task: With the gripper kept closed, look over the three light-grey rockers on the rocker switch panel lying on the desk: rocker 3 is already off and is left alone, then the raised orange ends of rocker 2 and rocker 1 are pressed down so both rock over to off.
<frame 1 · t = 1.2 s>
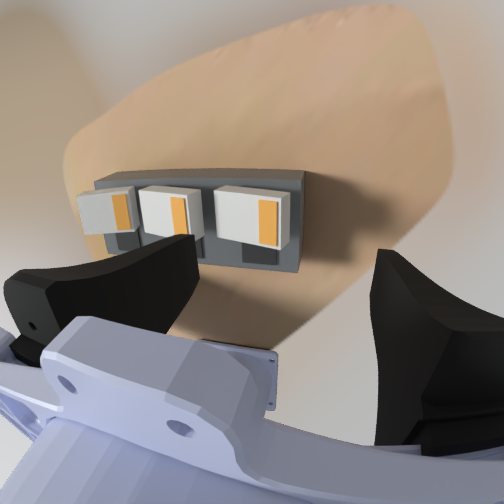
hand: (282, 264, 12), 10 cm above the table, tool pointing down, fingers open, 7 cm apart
rocker 2: (169, 212, 18), point 5 cm above the table, hinge at -15.0°
rocker switch panel: (201, 208, 23), on the table
rocker 1: (251, 216, 17), point 5 cm above the table, hinge at -15.0°
rocker 3: (107, 210, 19), point 5 cm above the table, hinge at 15.0°
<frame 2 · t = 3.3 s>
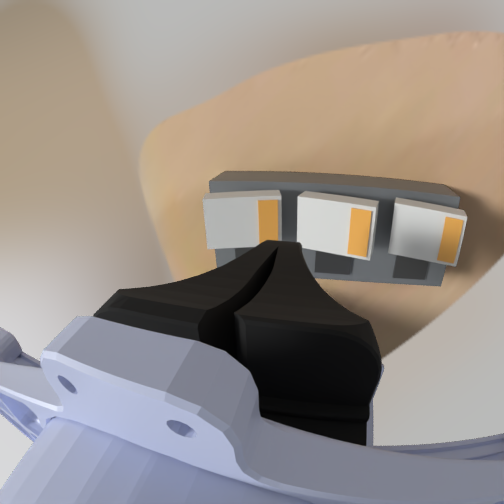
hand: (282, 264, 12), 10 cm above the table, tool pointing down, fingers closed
rocker 2: (337, 224, 15), point 5 cm above the table, hinge at -15.0°
rocker switch panel: (334, 217, 20), on the table
rocker 1: (427, 231, 14), point 5 cm above the table, hinge at -15.0°
rocker 3: (243, 219, 17), point 5 cm above the table, hinge at 15.0°
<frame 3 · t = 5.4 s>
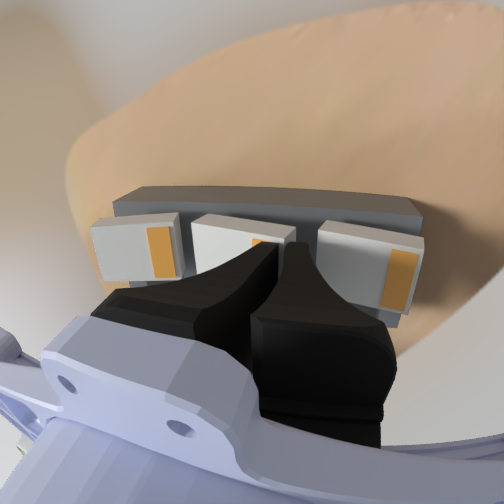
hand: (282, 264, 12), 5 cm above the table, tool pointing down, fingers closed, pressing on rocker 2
rocker 2: (242, 257, 12), point 5 cm above the table, hinge at -14.5°, touching gripper
rocker switch panel: (265, 240, 17), on the table
rocker 1: (368, 267, 11), point 5 cm above the table, hinge at -15.0°
rocker 3: (138, 248, 13), point 5 cm above the table, hinge at 15.0°
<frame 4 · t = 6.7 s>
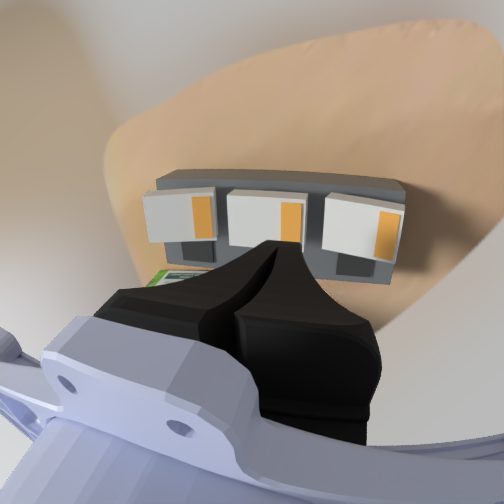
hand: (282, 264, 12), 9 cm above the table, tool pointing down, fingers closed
rocker 2: (267, 219, 16), point 5 cm above the table, hinge at -1.4°
rocker switch panel: (281, 213, 21), on the table
rocker 1: (363, 227, 15), point 5 cm above the table, hinge at -15.0°
syrup box: (198, 297, 26), on the table
rocker 3: (181, 215, 17), point 5 cm above the table, hinge at 15.0°
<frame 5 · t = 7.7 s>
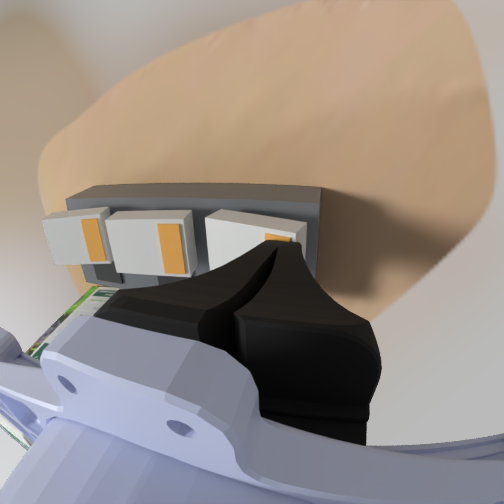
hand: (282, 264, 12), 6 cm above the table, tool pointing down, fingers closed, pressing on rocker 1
rocker 2: (151, 243, 14), point 5 cm above the table, hinge at 6.5°
rocker switch panel: (193, 230, 19), on the table
rocker 1: (254, 251, 13), point 5 cm above the table, hinge at -15.0°, touching gripper
syrup box: (130, 314, 24), on the table
rocker 3: (78, 237, 15), point 5 cm above the table, hinge at 15.0°
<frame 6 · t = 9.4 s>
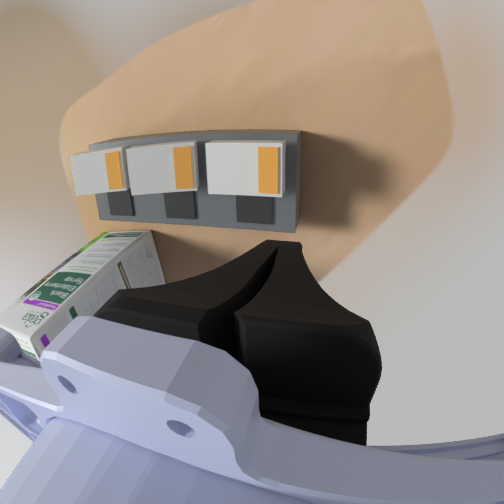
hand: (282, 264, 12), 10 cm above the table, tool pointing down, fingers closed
rocker 2: (163, 167, 17), point 5 cm above the table, hinge at 16.8°
rocker switch panel: (196, 171, 22), on the table
rocker 1: (245, 167, 16), point 5 cm above the table, hinge at 0.3°
syrup box: (136, 258, 27), on the table
rocker 3: (100, 170, 18), point 5 cm above the table, hinge at 15.0°
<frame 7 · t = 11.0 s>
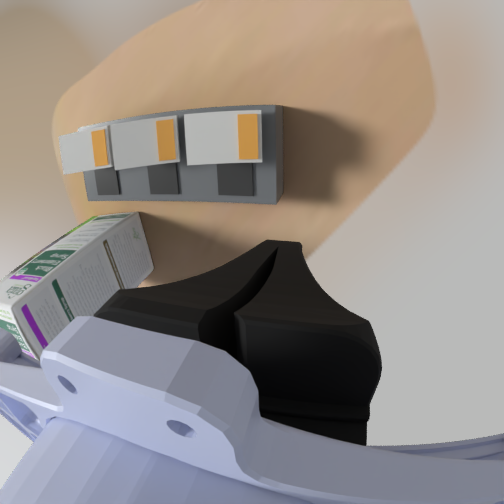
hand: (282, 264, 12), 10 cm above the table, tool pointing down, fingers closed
rocker 2: (145, 141, 17), point 5 cm above the table, hinge at 23.9°
rocker switch panel: (181, 150, 21), on the table
rocker 1: (224, 136, 16), point 5 cm above the table, hinge at 11.9°
syrup box: (125, 241, 27), on the table
rocker 3: (87, 149, 18), point 5 cm above the table, hinge at 15.0°
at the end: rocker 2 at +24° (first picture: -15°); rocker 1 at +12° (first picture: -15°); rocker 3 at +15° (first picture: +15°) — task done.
